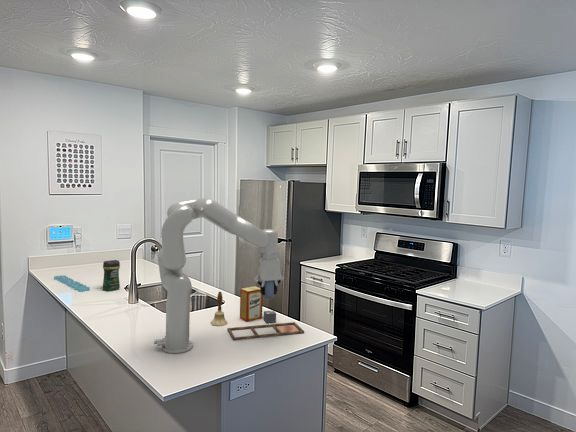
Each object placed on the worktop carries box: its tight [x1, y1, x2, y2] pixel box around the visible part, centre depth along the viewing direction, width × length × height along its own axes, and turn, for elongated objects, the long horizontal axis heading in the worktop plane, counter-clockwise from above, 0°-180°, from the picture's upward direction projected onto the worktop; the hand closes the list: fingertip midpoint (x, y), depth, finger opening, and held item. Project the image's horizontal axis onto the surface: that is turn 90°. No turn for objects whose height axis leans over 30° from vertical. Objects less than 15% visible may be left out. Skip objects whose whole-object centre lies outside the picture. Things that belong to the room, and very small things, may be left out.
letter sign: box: [53, 275, 91, 293], centre depth 262 cm, size 45×6×2 cm, turn 48°
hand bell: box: [210, 291, 228, 327], centre depth 199 cm, size 8×8×16 cm
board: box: [227, 321, 305, 341], centre depth 190 cm, size 34×13×1 cm, turn 110°
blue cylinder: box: [263, 281, 275, 299], centre depth 189 cm, size 5×5×8 cm
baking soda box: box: [239, 285, 264, 323], centre depth 208 cm, size 10×6×16 cm
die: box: [263, 309, 277, 325], centre depth 204 cm, size 5×5×5 cm
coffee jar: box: [102, 259, 121, 292], centre depth 252 cm, size 10×8×19 cm
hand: (268, 293), depth 189 cm, fingers closed on blue cylinder, 5 cm apart
